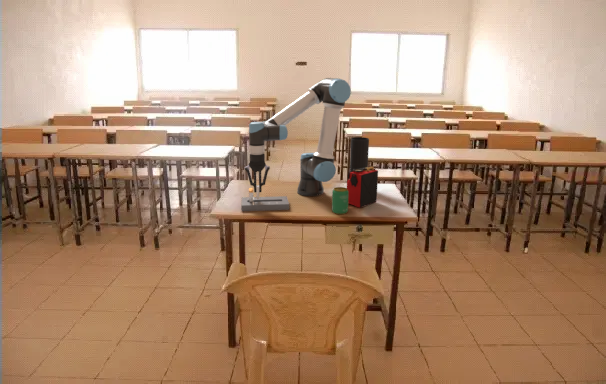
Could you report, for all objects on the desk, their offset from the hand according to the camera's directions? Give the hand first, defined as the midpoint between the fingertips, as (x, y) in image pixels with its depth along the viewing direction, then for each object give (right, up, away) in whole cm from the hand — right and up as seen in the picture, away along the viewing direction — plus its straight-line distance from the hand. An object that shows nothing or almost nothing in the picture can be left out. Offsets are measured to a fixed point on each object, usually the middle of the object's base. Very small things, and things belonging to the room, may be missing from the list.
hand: (257, 198), depth 236 cm
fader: (-3, -4, +1) cm, 6 cm away
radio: (+54, -3, +8) cm, 55 cm away
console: (+3, -4, +2) cm, 6 cm away
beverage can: (+42, -7, -6) cm, 43 cm away
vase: (+56, +5, +35) cm, 66 cm away
